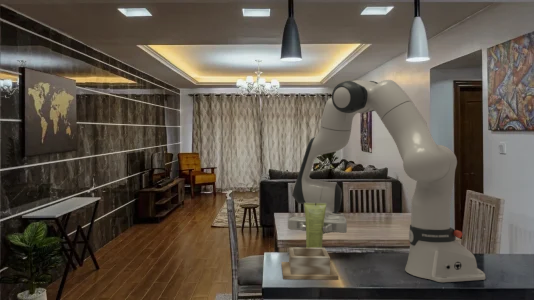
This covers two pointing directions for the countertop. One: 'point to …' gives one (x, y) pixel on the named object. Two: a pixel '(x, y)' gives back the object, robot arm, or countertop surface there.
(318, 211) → the tube
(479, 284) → the countertop surface
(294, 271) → the socket stand
